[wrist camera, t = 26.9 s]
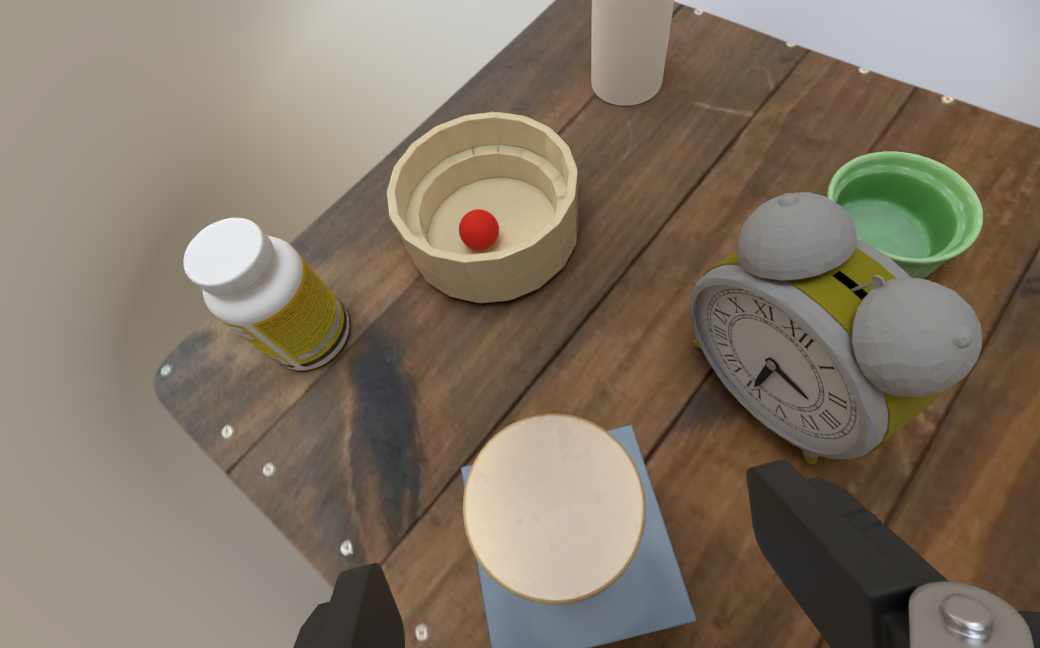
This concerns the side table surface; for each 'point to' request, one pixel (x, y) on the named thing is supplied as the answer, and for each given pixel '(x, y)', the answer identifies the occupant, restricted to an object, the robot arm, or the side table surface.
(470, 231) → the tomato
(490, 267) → the bowl
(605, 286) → the side table surface
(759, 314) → the alarm clock
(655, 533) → the upright slate-blue block
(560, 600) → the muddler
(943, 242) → the ramekin
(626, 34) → the candle
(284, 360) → the pill bottle
